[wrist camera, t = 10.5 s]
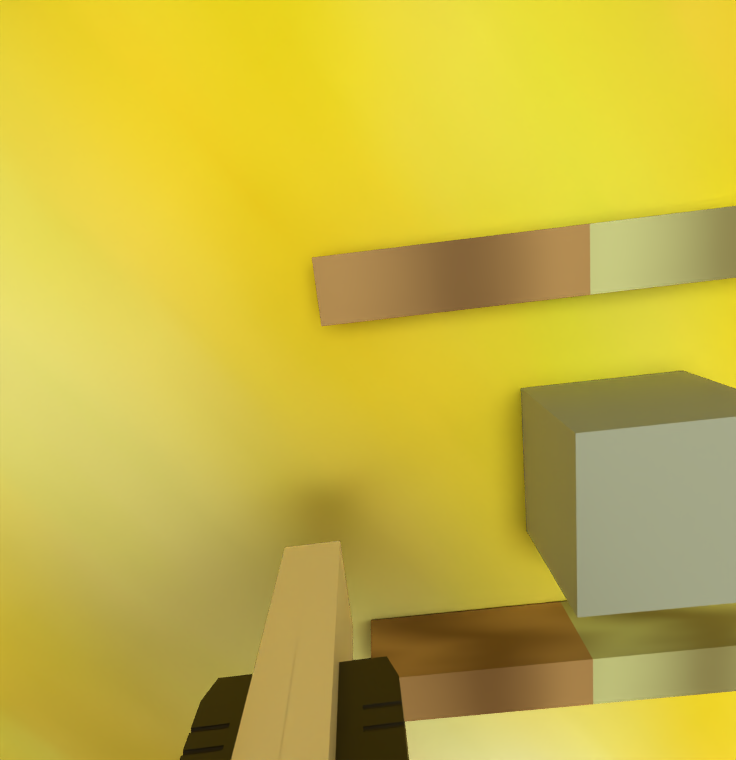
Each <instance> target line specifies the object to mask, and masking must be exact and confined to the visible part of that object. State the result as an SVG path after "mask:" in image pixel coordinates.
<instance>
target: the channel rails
mask: <svg viewBox="0 0 736 760" xmlns="http://www.w3.org/2000/svg"><path fill="white" fill-rule="evenodd" d="M312 261H313V268H314V276H315V283H316V290H317V297H318V304H319V311H320V318H321V325H322V326H327V325H335V324H344V323H352V322H361V321H369V320H378V319H386V318H395V317H403V316H412V315H420V314H429V313H438V312H446V311H455V310H463V309H472V308H480V307H489V306H497V305H506V304H514V303H523V302H531V301H540V300H548V299H557V298H565V297H574V296H582V295H591V294H599V293H608V292H616V291H625V290H633V289H642V288H650V287H659V286H667V285H676V284H684V283H693V282H701V281H710V280H718V279H727V278H735V277H736V206H732V207H724V208H716V209H707V210H699V211H691V212H683V213H675V214H666V215H658V216H650V217H642V218H634V219H625V220H617V221H609V222H601V223H593V224H584V225H576V226H568V227H560V228H552V229H543V230H535V231H527V232H519V233H511V234H502V235H494V236H486V237H478V238H470V239H461V240H453V241H445V242H437V243H429V244H420V245H412V246H404V247H396V248H388V249H379V250H371V251H363V252H355V253H347V254H338V255H330V256H322V257H314V258H312ZM385 656H387V657H388V659H389V661H390V662H391V664H392V665H393V667H394V669H395V670H396V672H397V673H398V675H399V680H400V688H401V696H402V704H403V712H404V721H415V720H426V719H436V718H447V717H458V716H469V715H480V714H491V713H502V712H512V711H523V710H534V709H545V708H556V707H567V706H577V705H588V704H599V703H610V702H621V701H632V700H643V699H653V698H664V697H675V696H686V695H697V694H708V693H718V692H729V691H736V603H728V604H717V605H707V606H696V607H685V608H675V609H664V610H653V611H643V612H632V613H621V614H610V615H600V616H589V617H578V618H577V616H576V614H575V613H574V611H573V609H572V607H571V606H570V604H569V602H568V601H562V602H552V603H541V604H531V605H521V606H511V607H501V608H491V609H481V610H471V611H460V612H450V613H440V614H430V615H420V616H410V617H400V618H390V619H379V620H371V658H376V657H385Z"/></svg>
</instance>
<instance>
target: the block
mask: <svg viewBox="0 0 736 760" xmlns="http://www.w3.org/2000/svg"><path fill="white" fill-rule="evenodd" d="M521 403H522V429H523V455H524V481H525V507H526V531H527V532H528V534H529V536H530V538H531V539H532V541H533V543H534V544H535V546H536V548H537V549H538V551H539V553H540V555H541V556H542V558H543V560H544V561H545V563H546V565H547V567H548V568H549V570H550V572H551V573H552V575H553V577H554V578H555V580H556V582H557V584H558V585H559V587H560V589H561V590H562V592H563V594H564V596H565V597H566V599H567V601H568V602H569V604H570V606H571V607H572V609H573V611H574V613H575V614H576V616H577V618H578V617H589V616H600V615H610V614H621V613H632V612H643V611H653V610H664V609H675V608H685V607H696V606H707V605H717V604H728V603H736V389H735V388H732V387H729V386H726V385H723V384H720V383H717V382H715V381H712V380H709V379H706V378H703V377H700V376H697V375H694V374H691V373H688V372H686V371H674V372H665V373H656V374H647V375H637V376H628V377H619V378H610V379H601V380H591V381H582V382H573V383H564V384H554V385H545V386H536V387H527V388H521Z"/></svg>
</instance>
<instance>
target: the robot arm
mask: <svg viewBox="0 0 736 760" xmlns="http://www.w3.org/2000/svg"><path fill="white" fill-rule="evenodd" d="M180 760H409V755H408V746H407V737H406V729H405V721H404V712H403V704H402V696H401V688H400V680H399V675H398V673H397V672H396V670H395V669H394V667H393V665H392V664H391V662H390V661H389V659H388V657H387V656H385V657H376V658H368V659H360V660H353V625H352V618H351V611H350V604H349V598H348V591H347V584H346V577H345V570H344V563H343V557H342V550H341V543H340V541H332V542H323V543H315V544H307V545H299V546H290V547H285V548H284V552H283V556H282V560H281V564H280V568H279V572H278V576H277V580H276V584H275V588H274V592H273V596H272V600H271V604H270V608H269V612H268V616H267V620H266V623H265V627H264V631H263V635H262V639H261V643H260V647H259V651H258V655H257V659H256V663H255V667H254V671H253V674H250V675H241V676H233V677H225V678H218V679H217V681H216V682H215V683H214V685H213V686H212V687H211V689H210V690H209V691H208V692H207V694H206V695H205V696H204V698H203V699H202V700H201V702H200V704H199V707H198V710H197V713H196V716H195V718H194V721H193V724H192V727H191V733H189V735H188V738H187V741H186V744H185V746H184V749H183V756H181V758H180Z"/></svg>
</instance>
